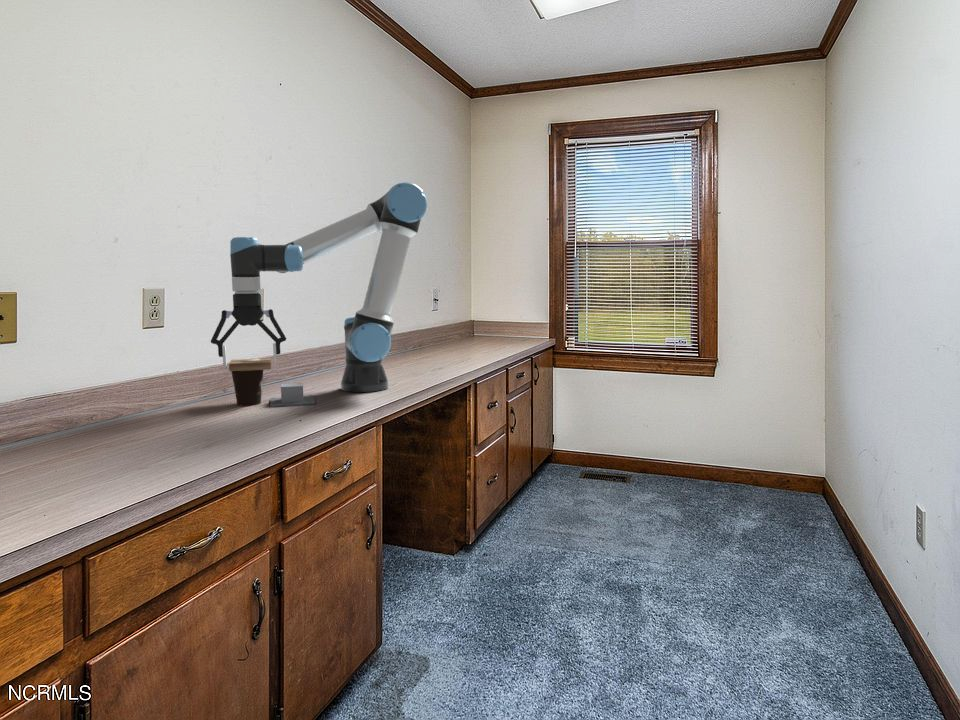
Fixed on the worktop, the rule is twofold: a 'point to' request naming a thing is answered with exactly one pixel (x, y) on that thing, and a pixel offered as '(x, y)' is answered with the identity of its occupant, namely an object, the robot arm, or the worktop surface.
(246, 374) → the coffee mug
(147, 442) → the worktop surface
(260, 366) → the lid
